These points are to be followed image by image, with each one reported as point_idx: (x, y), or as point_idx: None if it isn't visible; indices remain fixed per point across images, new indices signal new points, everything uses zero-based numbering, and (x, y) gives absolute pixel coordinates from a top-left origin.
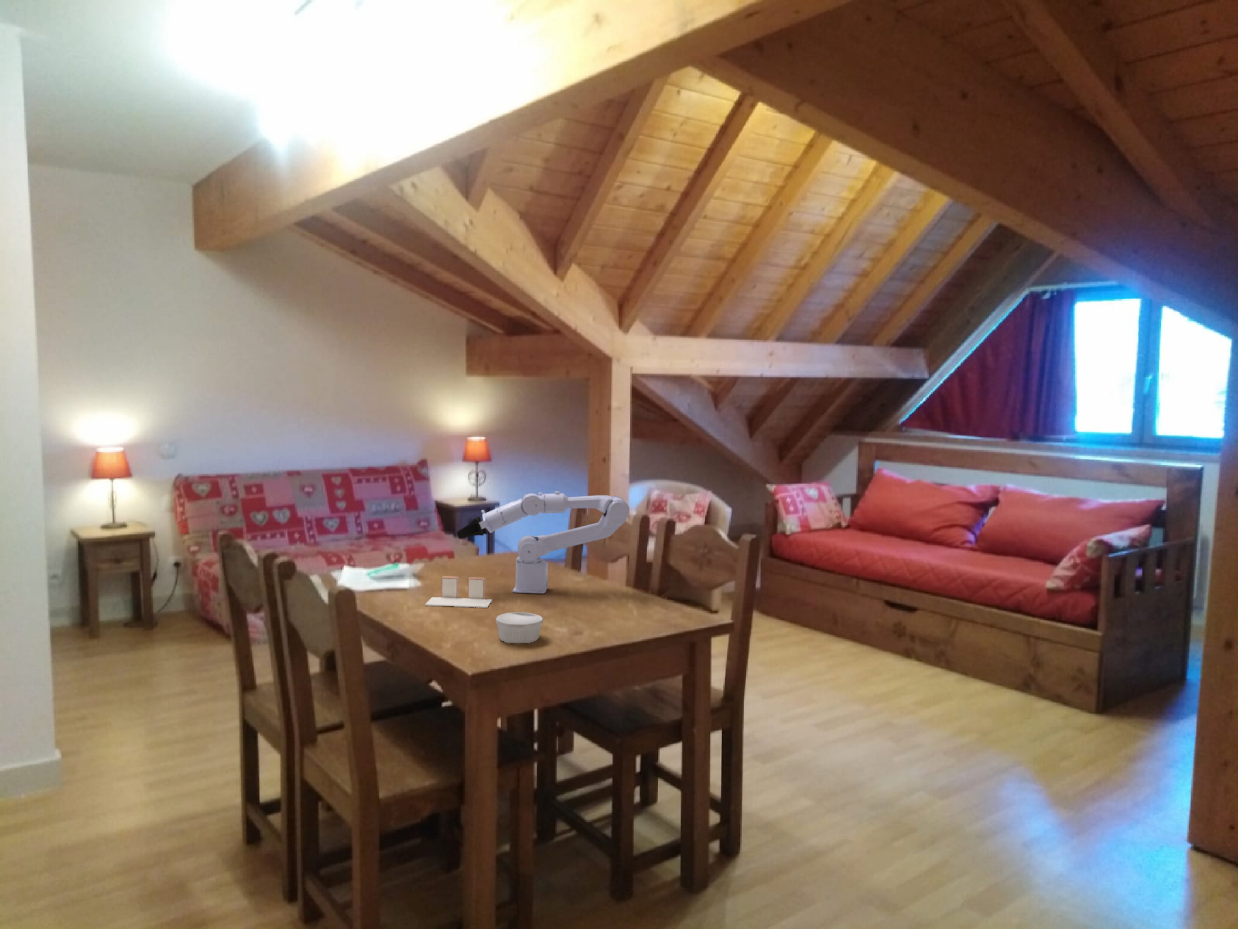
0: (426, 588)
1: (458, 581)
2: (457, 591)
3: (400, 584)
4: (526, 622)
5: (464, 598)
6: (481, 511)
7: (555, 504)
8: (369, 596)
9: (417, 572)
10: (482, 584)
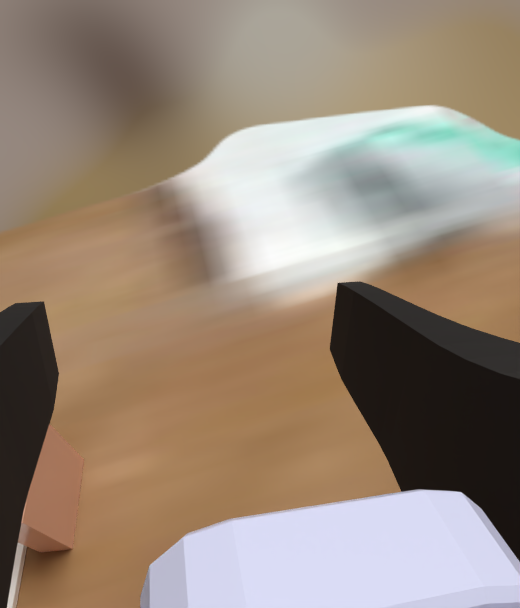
0: (239, 341)
1: (29, 530)
2: (24, 544)
3: (280, 240)
4: None
5: (7, 605)
6: (155, 560)
7: None
8: (86, 213)
9: (495, 233)
10: None
